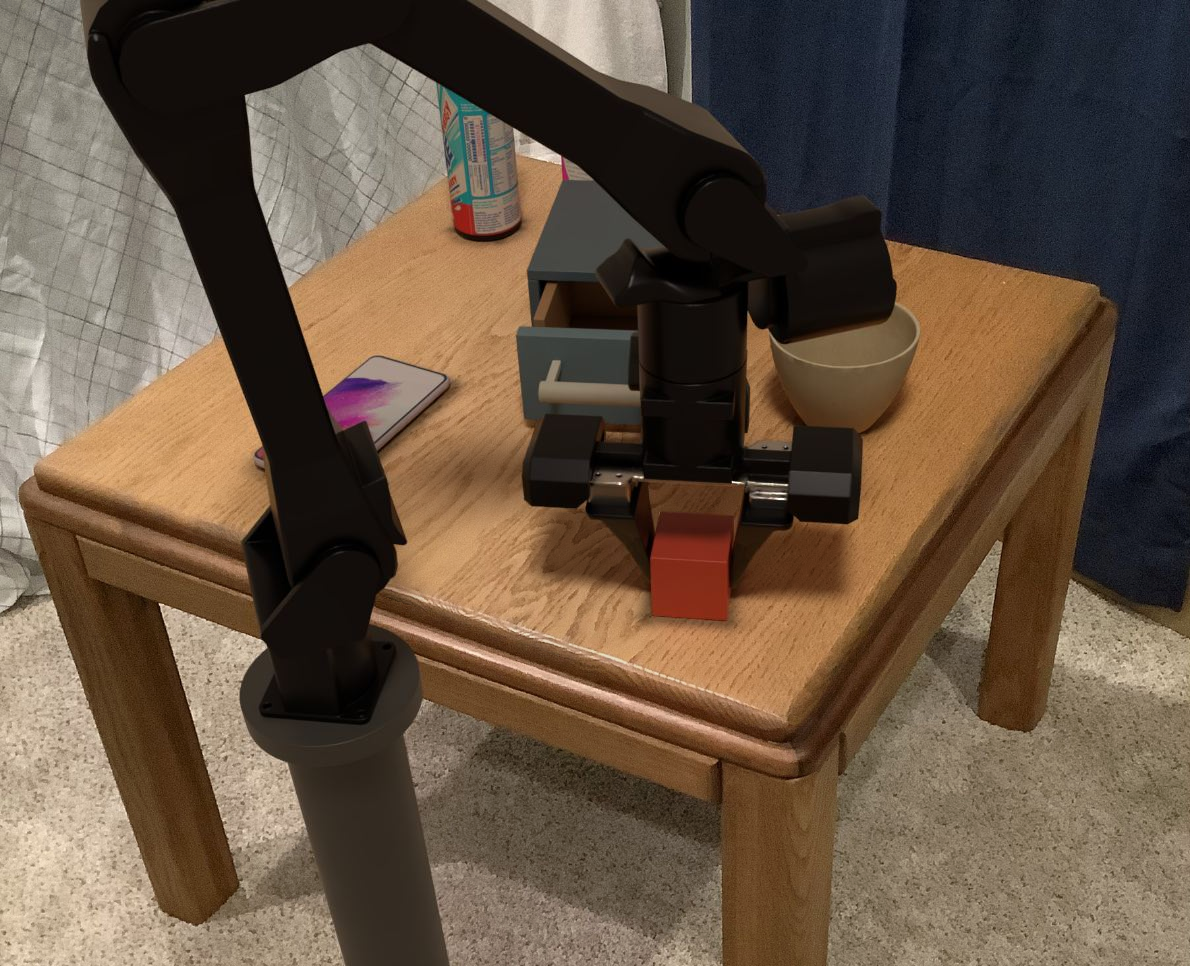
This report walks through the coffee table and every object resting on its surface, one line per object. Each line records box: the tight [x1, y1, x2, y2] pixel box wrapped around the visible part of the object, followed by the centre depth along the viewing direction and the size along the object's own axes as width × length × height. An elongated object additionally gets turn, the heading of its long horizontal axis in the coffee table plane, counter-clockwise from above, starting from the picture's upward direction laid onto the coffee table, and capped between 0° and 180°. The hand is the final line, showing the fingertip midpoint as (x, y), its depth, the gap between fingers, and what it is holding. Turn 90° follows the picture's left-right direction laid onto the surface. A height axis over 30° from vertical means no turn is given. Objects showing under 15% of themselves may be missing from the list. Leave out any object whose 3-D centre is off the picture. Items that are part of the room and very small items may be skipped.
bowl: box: [768, 301, 921, 434], centre depth 98 cm, size 10×10×7 cm
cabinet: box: [526, 179, 663, 327], centre depth 107 cm, size 15×13×9 cm
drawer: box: [515, 280, 641, 426], centre depth 100 cm, size 18×11×7 cm, turn 171°
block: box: [650, 510, 735, 621], centre depth 85 cm, size 4×4×4 cm
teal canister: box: [435, 82, 522, 242], centre depth 119 cm, size 6×6×15 cm
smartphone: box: [252, 354, 451, 469], centre depth 102 cm, size 7×1×15 cm
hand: (693, 581), depth 86 cm, fingers closed on block, 4 cm apart
